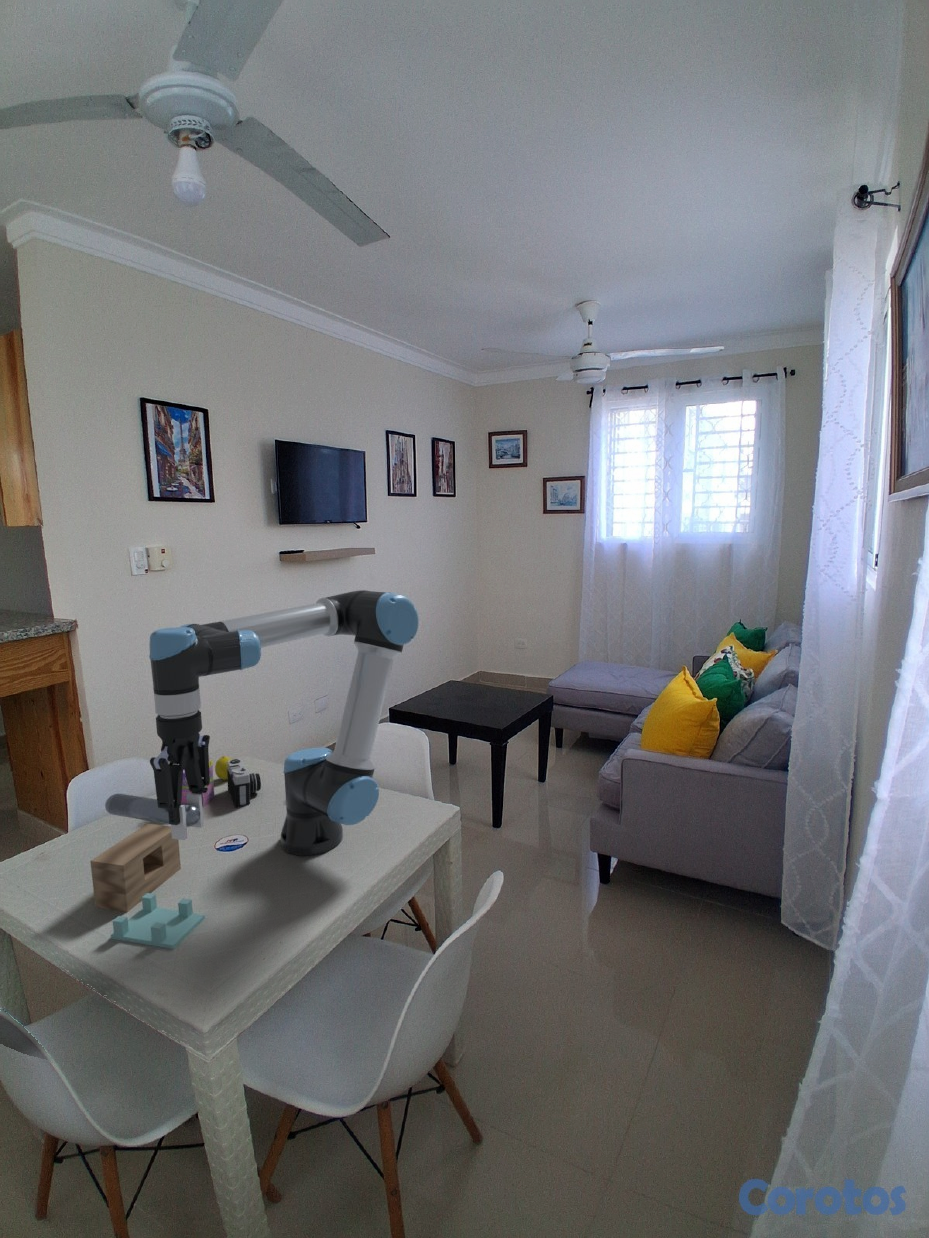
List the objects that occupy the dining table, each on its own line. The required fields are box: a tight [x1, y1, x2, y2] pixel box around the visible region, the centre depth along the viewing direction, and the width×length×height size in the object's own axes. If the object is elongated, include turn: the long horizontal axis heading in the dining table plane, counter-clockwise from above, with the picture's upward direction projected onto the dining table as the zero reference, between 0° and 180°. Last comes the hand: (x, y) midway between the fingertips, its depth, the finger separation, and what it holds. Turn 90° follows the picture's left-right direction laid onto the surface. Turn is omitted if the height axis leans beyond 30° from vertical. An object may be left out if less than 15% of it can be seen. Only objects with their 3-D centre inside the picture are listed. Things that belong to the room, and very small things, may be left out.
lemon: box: [214, 755, 232, 781], centre depth 186 cm, size 6×6×8 cm
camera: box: [227, 758, 262, 809], centre depth 174 cm, size 14×9×10 cm, turn 23°
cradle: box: [110, 893, 206, 950], centre depth 117 cm, size 14×9×4 cm, turn 77°
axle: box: [104, 793, 201, 828], centre depth 113 cm, size 20×4×4 cm, turn 77°
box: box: [181, 757, 215, 809], centre depth 170 cm, size 10×6×12 cm, turn 179°
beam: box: [89, 823, 182, 913], centre depth 130 cm, size 8×16×10 cm, turn 167°
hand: (188, 831), depth 112 cm, fingers closed on axle, 4 cm apart
